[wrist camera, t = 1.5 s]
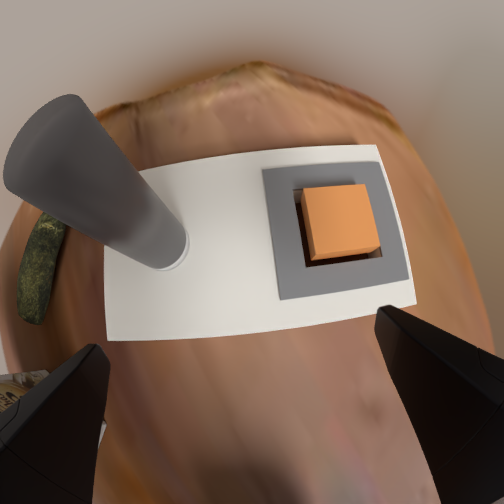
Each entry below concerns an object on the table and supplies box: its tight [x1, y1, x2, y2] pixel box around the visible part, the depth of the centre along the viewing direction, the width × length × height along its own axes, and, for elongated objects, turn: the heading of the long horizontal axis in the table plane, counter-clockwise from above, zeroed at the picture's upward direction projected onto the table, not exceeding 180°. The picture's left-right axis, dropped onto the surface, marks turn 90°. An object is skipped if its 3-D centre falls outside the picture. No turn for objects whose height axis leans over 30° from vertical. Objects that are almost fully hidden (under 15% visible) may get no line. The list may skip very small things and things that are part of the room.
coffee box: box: [0, 370, 106, 448], centre depth 11 cm, size 9×6×16 cm
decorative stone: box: [17, 212, 66, 325], centre depth 21 cm, size 11×8×5 cm
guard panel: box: [104, 145, 417, 341], centre depth 21 cm, size 24×14×3 cm, turn 97°
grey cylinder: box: [3, 94, 190, 271], centre depth 13 cm, size 4×4×14 cm
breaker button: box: [300, 184, 380, 260], centre depth 19 cm, size 5×5×2 cm
